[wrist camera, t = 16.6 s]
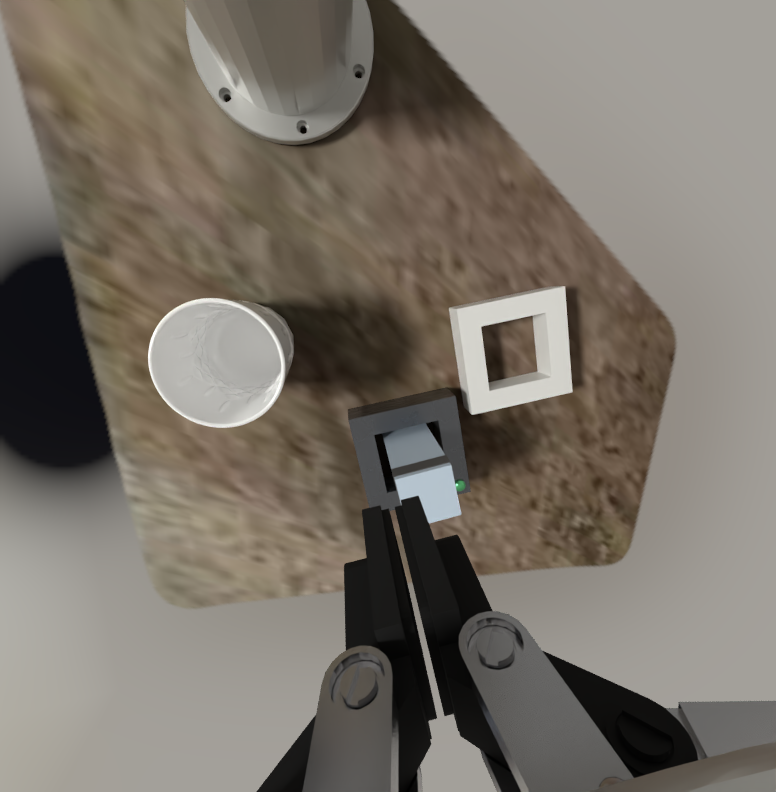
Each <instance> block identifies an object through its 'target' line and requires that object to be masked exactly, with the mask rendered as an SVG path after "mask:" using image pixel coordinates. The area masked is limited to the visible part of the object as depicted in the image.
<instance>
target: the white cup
mask: <svg viewBox="0 0 776 792" xmlns="http://www.w3.org/2000/svg"><path fill="white" fill-rule="evenodd" d="M293 355H294V339H293V334H292V332H291V330H290V328H289V326H288V325H287V323H286V321H285V319H284V318H283V317H281V316H280V315H279V314H277V313H276V312H275V311H273V310H272V309H271V308H270V307H266V306H262V305H259V304H256V303H253V302H248V301H242V300H230V299H218V298H204V299H197V300H193V301H190V302H187V303H184V304H182V305H180V306H178V307H176V308H175V309H173V310H172V311H171V312H169V313H168V314H167V315H166V316H165V317H164V318H163V319H162V320H161V322H160V323H159V324H158V326H157V327H156V329H155V331H154V333H153V335H152V338H151V341H150V345H149V352H148V363H149V370H150V374H151V377H152V380H153V382H154V385H155V387H156V389H157V390H158V392H159V394H160V395H161V396H162V398H163V399H164V400H165V402H166V403H167V404H168V405H169V406H170V407H171V408H172V409H174V410H175V411H176V412H177V413H179V414H180V415H182V416H183V417H185V418H187V419H189V420H191V421H193V422H196V423H198V424H201V425H205V426H210V427H218V428H228V427H236V426H240V425H244V424H247V423H249V422H251V421H253V420H255V419H257V418H259V417H260V416H262V415H263V414H264V413H265V412H267V411H268V410H269V409H270V408H271V406H272V405H273V404H274V403H275V401H276V400H277V398H278V396H279V394H280V392H281V390H282V387H283V385H284V382H285V380H286V378H287V375H288V373H289V370H290V367H291V364H292V359H293Z"/></svg>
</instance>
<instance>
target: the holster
mask: <svg viewBox="0 0 776 792" xmlns="http://www.w3.org/2000/svg"><path fill="white" fill-rule="evenodd" d="M449 313H450V320H451V326H452V333H453V339H454V346H455V353H456V359H457V366H458V372H459V379H460V386H461V392H462V399H463V405H464V408H465V409H466V410H468V411H469V412H470V413H471V414H472V415H474V414H479V413H483V412H487V411H492V410H496V409H501V408H505V407H509V406H514V405H518V404H523V403H527V402H531V401H536V400H540V399H545V398H549V397H553V396H558V395H562V394H567V393H571V392H572V378H571V364H570V350H569V335H568V321H567V307H566V292H565V286H549V287H545V288H540V289H535V290H530V291H526V292H521V293H516V294H512V295H507V296H502V297H497V298H493V299H488V300H483V301H479V302H474V303H469V304H464V305H460V306H455V307H450V308H449ZM528 316H533V326H534V337H535V347H536V358H537V369H538V371H537V372H533V373H528V374H524V375H519V376H515V377H510V378H506V379H501V380H497V381H493V382H488V376H487V368H486V361H485V353H484V345H483V338H482V330H481V327H482V326H486V325H491V324H495V323H500V322H505V321H509V320H514V319H519V318H523V317H528Z"/></svg>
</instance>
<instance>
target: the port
mask: <svg viewBox="0 0 776 792" xmlns="http://www.w3.org/2000/svg"><path fill="white" fill-rule="evenodd" d="M348 420H349V424H350V428H351V432H352V437H353V441H354V445H355V449H356V453H357V457H358V462H359V466H360V470H361V474H362V478H363V482H364V487H365V491H366V495H367V499H368V503H369V507H370V508H371V507H375V506H379V505H380V506H381V509H382V510H384V509H388V508H389V511H391V510H395V507H396V506H400V502H399V498H398V494H397V490H396V486H395V482H394V478H393V475H392V476H388V477H383V472H382V468H381V463H380V459H379V454H378V450H377V445H376V441H375V436H374V435H376V434H381V433H385V432H390V431H394V430H398V429H403V428H407V427H411V426H416V425H420V424H425V423H429V422H433V425H434V431H435V437H436V441H437V443H438V444H439V446H440V448H441V449H442V451H443V452H444V454H445V455H446V456H447V457H448V459H449V460H450V462H451V466H452V471H453V476H454V481H455V486H456V491H457V495H458V494H462V493H467V492H471V491H470V485H469V478H468V472H467V465H466V459H465V453H464V446H463V440H462V434H461V427H460V421H459V414H458V408H457V402H456V396H455V395H454V394H453V393H452V392H451V391H450V390H449V389H448V388H442V389H438V390H433V391H429V392H424V393H420V394H415V395H411V396H406V397H402V398H397V399H393V400H388V401H384V402H379V403H375V404H370V405H366V406H361V407H357V408H352V409H348Z"/></svg>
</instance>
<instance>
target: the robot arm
mask: <svg viewBox="0 0 776 792" xmlns="http://www.w3.org/2000/svg"><path fill="white" fill-rule="evenodd" d="M184 2H185V4H186V32H187V37H188V42H189V47H190V52H191V55H192V58H193V61H194V63H195V66H196V69H197V72H198V74H199V76H200V77H201V79H202V81H203V83H204V85H205V86H206V88H207V90H208V92H209V93H210V95H211V96H212V97H213V99H214V100H215V102H216V103H217V105H218V106H219V107H220V108H221V109H222V110H223V111H224V112H225V113H226V114H227V115H228V117H229V118H230V119H231V120H233V121H234V122H235V123H237V124H238V125H239V126H240V127H242V128H243V129H244V130H246V131H247V132H249V133H251V134H253V135H255V136H257V137H259V138H261V139H264V140H267V141H271V142H274V143H278V144H288V145H299V144H306V143H312V142H314V141H317V140H320V139H323V138H325V137H327V136H329V135H330V134H332V133H333V132H335V131H337V130H338V129H339V128H340V127H341V126H343V125H344V124H345V123H346V122H347V121H348V120H349V119H350V118H351V116H352V115H353V113H354V112H355V110H356V109H357V108H358V106H359V105H360V103H361V101H362V98H363V96H364V94H365V91H366V89H367V87H368V83H369V78H370V74H371V70H372V62H373V54H374V41H373V27H372V21H371V15H370V11H369V8H368V5H367V2H366V0H184ZM357 74H360V75H361V76H362V78H356V77H355V76H356V75H357ZM227 97H230V98H231V100H230V101H228V102H225V99H226V98H227ZM302 128H305V129H306V130H307V132H306V133H305V134H302V133H301V132H300V130H301V129H302ZM395 511H396V515H397V519H398V523H399V527H400V532H401V536H402V540H403V544H404V548H405V553H406V557H407V561H408V565H409V569H410V574H411V578H412V582H413V586H414V590H415V594H416V599H417V603H418V607H419V611H420V615H421V620H422V624H423V628H424V632H425V636H426V641H427V645H428V649H429V653H430V657H431V661H432V665H433V669H434V673H435V678H436V682H437V686H438V690H439V695H440V699H441V703H442V707H443V711H444V715H445V716H447V715H451V714H454V717H455V720H456V724H457V728H458V731H459V732H460V736H461V737H463V738H464V739H466V740H468V741H469V742H470V743H472V744H473V745H475V746H476V747H478V748H479V749H480V751H481V754H482V758H483V760H484V763H485V765H486V767H487V769H488V772H489V774H490V777H491V779H492V781H493V783H494V786H495V788H496V790H497V792H776V701H734V702H733V701H730V702H679V706H678V708H664V707H662V706H661V705H659V704H657V703H656V702H654V701H652V700H650V699H648V698H646V697H644V696H642V695H639V694H637V693H635V692H633V691H631V690H628V689H626V688H624V687H622V686H619V685H617V684H615V683H613V682H611V681H608V680H606V679H604V678H601V677H600V676H597V675H595V674H593V673H591V672H588V671H586V670H584V669H582V668H579V667H577V666H575V665H573V664H571V663H569V662H566V661H564V660H562V659H560V658H557V657H555V656H553V655H551V654H549V653H546V652H544V651H542V650H541V649H540V647H539V646H538V644H537V643H536V642H535V640H534V639H533V637H532V636H531V635H530V633H529V632H528V631H527V629H526V628H525V627H524V626H523V625H522V624H521V623H520V622H519V621H518V620H517V619H515V618H514V617H512V616H510V615H509V614H505V613H501V612H497V611H496V612H495V611H492V609H491V607H490V605H489V602H488V600H487V598H486V596H485V594H484V591H483V589H482V587H481V585H480V582H479V580H478V578H477V576H476V574H475V571H474V569H473V567H472V565H471V562H470V560H469V558H468V556H467V554H466V551H465V549H464V547H463V545H462V543H461V540H460V538H459V536H458V535H454V536H450V537H446V538H442V539H438V540H434V537H433V534H432V531H431V529H430V526H429V523H428V520H427V517H426V515H425V512H424V509H423V506H422V503H421V501H420V498H419V496H414V497H410V498H407V499H403V500H401V505H400V506H396V507H395ZM362 515H363V525H364V535H365V545H366V555H367V558H365V559H361V560H357V561H354V562H350V563H346V564H345V565H344V584H345V629H346V631H345V633H346V651H345V652H343V653H341V654H340V655H339V656H338V657H337V658H336V659H335V660H334V661H333V662H332V663H331V665H330V666H329V668H328V669H327V671H326V672H325V676H324V679H323V682H322V685H321V691H320V696H319V702H318V708H317V713H316V716H315V717H314V718H313V719H312V720H311V722H310V723H309V725H308V726H307V727H306V728H305V730H304V731H303V732H302V733H301V735H300V736H299V738H298V739H297V740H296V741H295V743H294V744H293V745H292V746H291V748H290V749H289V750H288V752H287V753H286V754H285V756H284V757H283V758H282V759H281V761H280V762H279V763H278V765H277V766H276V767H275V768H274V770H273V771H272V773H271V774H270V775H269V776H268V778H267V779H266V780H265V781H264V783H263V784H262V785H261V787H260V788H259V789H258V791H257V792H422V774H421V769H420V764H421V762H422V760H423V759H424V757H425V755H426V753H427V751H428V749H429V747H430V745H431V741H430V739H432V738H431V732H430V728H429V723H428V721H429V720H433V719H436V718H437V716H436V711H435V706H434V702H433V697H432V693H431V688H430V684H429V679H428V675H427V670H426V666H425V661H424V657H423V652H422V647H421V643H420V638H419V634H418V630H417V625H416V620H415V616H414V611H413V607H412V602H411V598H410V593H409V589H408V585H407V580H406V576H405V572H404V568H403V564H402V560H401V556H400V552H399V548H398V544H397V540H396V536H395V532H394V528H393V523H392V519H391V515H390V511H389V508H388V509H384V510H382V509H381V506H380V505H379V506H375V507H371V508H367V509H363V510H362Z"/></svg>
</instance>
